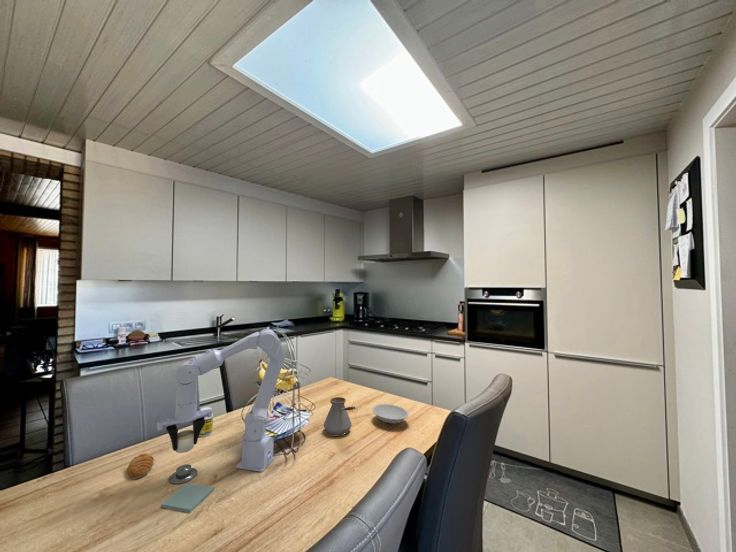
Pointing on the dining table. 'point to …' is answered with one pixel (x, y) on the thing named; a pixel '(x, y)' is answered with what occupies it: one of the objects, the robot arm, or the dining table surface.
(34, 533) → the dining table surface
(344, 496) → the dining table surface
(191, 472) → the grey round lid
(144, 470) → the pastry
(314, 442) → the dining table surface
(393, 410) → the dish
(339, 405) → the coffee pot
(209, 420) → the supplement bottle
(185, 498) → the coaster
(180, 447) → the can
